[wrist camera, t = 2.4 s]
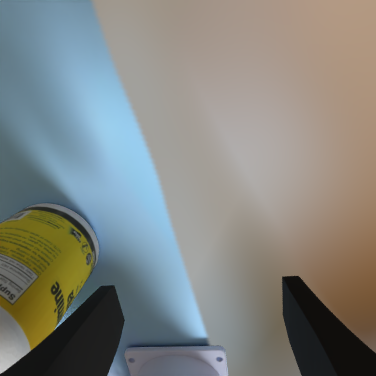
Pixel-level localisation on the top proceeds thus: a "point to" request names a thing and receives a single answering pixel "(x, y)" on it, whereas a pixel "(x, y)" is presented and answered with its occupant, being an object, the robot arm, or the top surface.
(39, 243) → the pill bottle
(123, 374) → the top surface
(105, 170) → the top surface
